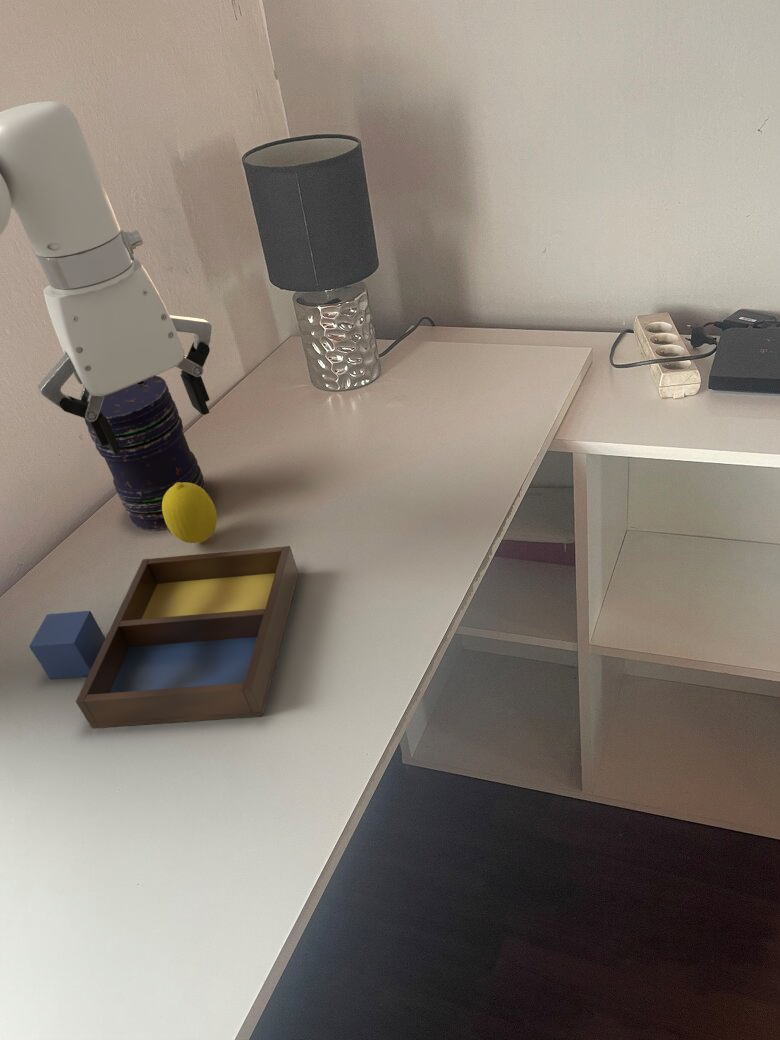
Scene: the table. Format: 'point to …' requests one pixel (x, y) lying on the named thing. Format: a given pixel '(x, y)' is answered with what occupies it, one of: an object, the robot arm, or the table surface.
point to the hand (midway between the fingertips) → (158, 428)
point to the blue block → (67, 644)
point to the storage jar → (147, 450)
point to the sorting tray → (193, 640)
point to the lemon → (189, 512)
